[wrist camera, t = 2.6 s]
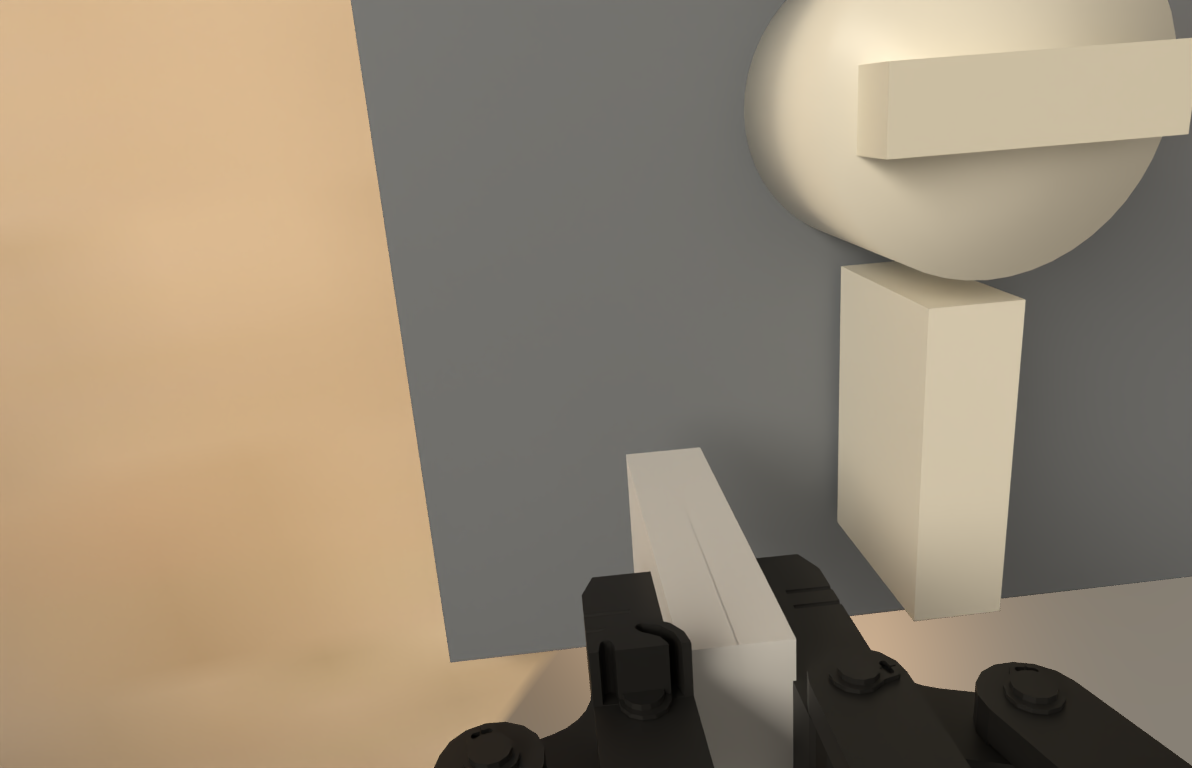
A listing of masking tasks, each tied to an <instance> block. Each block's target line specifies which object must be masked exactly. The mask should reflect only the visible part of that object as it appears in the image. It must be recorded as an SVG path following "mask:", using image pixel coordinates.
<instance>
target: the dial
mask: <svg viewBox="0 0 1192 768" xmlns="http://www.w3.org/2000/svg"><path fill="white" fill-rule="evenodd" d="M1191 112H1192V38H1183V39H1176V35H1175V29H1174V24H1173V18H1172V12H1171V9H1170V6H1169V3H1168V0H786V1H785V2H784V3H783V5H782V6H781V7H780V9H779V10H778V11H777V13H776V14H775V15H774V17H773V18H772V19H771V21H770V23H769V24H768V26H767V28H766V30H765V31H764V33H763V35H762V37H761V39H760V41H759V44H758V46H757V48H756V51H755V53H754V55H753V59H752V62H751V66H750V69H749V73H748V77H747V83H746V89H745V101H744V119H745V131H746V136H747V141H748V145H749V150H750V153H751V156H752V158H753V161H754V164H755V167H756V169H757V171H758V173H759V175H760V177H761V178H762V180H763V182H764V184H765V185H766V187H767V188H768V189H769V191H770V192H771V194H772V195H773V196H774V198H775V199H776V200H777V201H778V202H779V203H780V204H781V205H782V206H783V207H784V208H785V209H786V210H787V211H788V212H790V213H791V214H792V215H793V216H795V217H796V218H797V219H799V220H800V221H802V222H804V223H805V224H807V225H809V226H810V227H813V228H815V229H817V230H820V231H822V232H824V233H827V234H829V235H832V236H834V237H837V238H839V239H842V240H844V241H847V242H849V243H852V244H854V245H857V246H859V247H862V248H864V249H867V250H869V251H872V252H874V253H876V254H879V255H881V256H884V257H886V258H889V259H891V260H894V261H892V262H881V263H870V264H859V265H848V266H841V304H840V372H839V440H838V508H837V522H838V524H839V525H840V526H841V527H842V529H843V530H844V531H845V533H846V534H847V535H848V537H849V538H850V539H851V540H852V542H853V543H854V544H855V546H856V547H857V548H858V549H859V551H860V552H861V553H862V555H863V556H864V557H865V559H866V560H867V561H868V562H869V564H870V565H871V566H872V568H873V569H874V570H875V571H876V573H877V574H878V575H879V577H880V578H881V579H882V581H883V582H884V583H885V584H886V586H887V587H888V588H889V590H890V591H891V592H892V593H893V595H894V596H895V597H896V599H897V600H898V601H899V603H900V604H901V605H902V606H903V608H904V609H905V610H906V612H907V613H908V614H909V615H910V617H911V618H912V619H913V621H921V620H929V619H937V618H946V617H955V616H963V615H972V614H979V613H988V612H996V611H1000V602H1001V590H1002V578H1003V566H1004V554H1005V542H1006V530H1007V518H1008V506H1009V494H1010V482H1011V470H1012V458H1013V446H1014V434H1015V422H1016V410H1017V398H1018V386H1019V374H1020V362H1021V350H1022V338H1023V326H1024V314H1025V302H1026V300H1025V299H1023V298H1020V297H1017V296H1015V295H1012V294H1009V293H1007V292H1004V291H1001V290H999V289H996V288H993V287H991V286H988V285H985V284H983V283H980V282H977V281H975V280H991V279H997V278H1004V277H1010V276H1013V275H1017V274H1020V273H1024V272H1027V271H1030V270H1033V269H1035V268H1038V267H1040V266H1042V265H1045V264H1047V263H1049V262H1052V261H1054V260H1055V259H1057V258H1059V257H1061V256H1062V255H1064V254H1066V253H1068V252H1069V251H1071V250H1073V249H1074V248H1076V247H1077V246H1078V245H1080V244H1081V243H1082V242H1084V241H1085V240H1086V239H1088V238H1089V237H1091V236H1092V235H1093V234H1094V233H1095V232H1096V231H1097V230H1098V229H1100V228H1101V227H1102V226H1103V225H1104V224H1105V223H1106V222H1107V221H1108V220H1109V219H1110V218H1111V217H1112V216H1113V215H1114V214H1115V213H1116V212H1117V210H1118V209H1119V208H1120V207H1121V206H1122V205H1123V204H1124V202H1125V201H1126V200H1127V199H1128V197H1129V196H1130V194H1131V193H1132V192H1133V190H1134V189H1135V187H1136V186H1137V185H1138V183H1139V182H1140V180H1141V179H1142V177H1143V175H1144V173H1145V172H1146V170H1147V168H1148V166H1149V164H1150V163H1151V161H1152V159H1153V157H1154V155H1155V152H1156V150H1157V148H1158V145H1159V143H1160V141H1161V138H1162V136H1173V135H1185V134H1189V127H1190V119H1191Z"/></svg>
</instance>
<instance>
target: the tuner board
mask: <svg viewBox="0 0 1192 768" xmlns="http://www.w3.org/2000/svg"><path fill="white" fill-rule="evenodd" d="M785 1H786V0H351V5H352V11H353V18H354V25H355V31H356V38H357V45H358V51H359V58H360V64H361V71H362V78H363V84H364V91H365V98H366V104H367V111H368V118H369V124H370V131H371V138H372V144H373V151H374V158H375V164H376V171H377V177H378V184H379V191H380V197H381V204H382V211H383V217H384V224H385V231H386V237H387V244H388V251H389V257H390V264H391V271H392V277H393V284H394V290H395V297H396V304H397V310H398V317H399V324H400V330H401V337H402V344H403V350H404V357H405V364H406V370H407V377H408V384H409V390H410V397H411V404H412V410H413V417H414V423H415V430H416V437H417V443H418V450H419V457H420V463H421V470H422V477H423V483H424V490H425V497H426V503H427V510H428V517H429V523H430V530H431V536H432V543H433V550H434V556H435V563H436V570H437V576H438V583H439V590H440V596H441V603H442V610H443V616H444V623H445V630H446V636H447V643H448V649H449V656H450V662H459V661H467V660H476V659H485V658H493V657H502V656H510V655H519V654H528V653H536V652H545V651H553V650H562V649H571V648H579V647H586V638H585V627H584V616H583V605H582V594H583V592H584V590H585V589H586V587H587V585H588V584H589V582H590V580H591V579H592V577H601V576H611V575H620V574H630V573H634V562H633V548H632V534H631V519H630V505H629V490H628V476H627V461H626V454H636V453H647V452H657V451H667V450H677V449H688V448H698V447H700V448H701V450H702V452H703V454H704V456H705V458H706V460H707V462H708V464H709V466H710V468H711V470H712V472H713V474H714V476H715V478H716V480H717V482H718V484H719V486H720V488H721V490H722V492H723V494H724V496H725V498H726V500H727V502H728V504H729V506H730V508H731V510H732V512H733V514H734V516H735V518H736V520H737V522H738V524H739V526H740V528H741V530H742V532H743V534H744V536H745V538H746V540H747V542H748V544H749V546H750V548H751V550H752V552H753V554H754V556H755V558H763V557H772V556H782V555H792V554H798V555H800V556H802V557H803V558H805V559H806V560H808V561H809V562H811V563H812V564H814V565H815V566H817V567H818V568H819V569H820V570H821V572H822V573H823V575H824V576H825V578H826V580H827V581H828V583H829V584H830V588H831V589H833V591H834V592H835V594H836V596H837V597H838V599H839V601H840V604H842V605H843V607H844V608H845V610H846V611H847V613H848V615H849V616H854V615H863V614H872V613H880V612H888V611H897V610H905V609H904V608H903V606H902V605H901V604H900V603H899V601H898V600H897V599H896V597H895V596H894V595H893V593H892V592H891V591H890V590H889V588H888V587H887V586H886V584H885V583H884V582H883V581H882V579H881V578H880V577H879V575H878V574H877V573H876V571H875V570H874V569H873V568H872V566H871V565H870V564H869V562H868V561H867V560H866V559H865V557H864V556H863V555H862V553H861V552H860V551H859V549H858V548H857V547H856V546H855V544H854V543H853V542H852V540H851V539H850V538H849V537H848V535H847V534H846V533H845V531H844V530H843V529H842V527H841V526H840V525H839V524H838V522H837V508H838V440H839V372H840V304H841V266H848V265H859V264H870V263H881V262H892V261H894V260H891V259H889V258H886V257H884V256H881V255H879V254H876V253H874V252H872V251H869V250H867V249H864V248H862V247H859V246H857V245H854V244H852V243H849V242H847V241H844V240H842V239H839V238H837V237H834V236H832V235H829V234H827V233H824V232H822V231H820V230H817V229H815V228H813V227H810V226H809V225H807V224H805V223H804V222H802V221H800V220H799V219H797V218H796V217H795V216H793V215H792V214H791V213H790V212H788V211H787V210H786V209H785V208H784V207H783V206H782V205H781V204H780V203H779V202H778V201H777V200H776V199H775V198H774V196H773V195H772V194H771V192H770V191H769V189H768V188H767V187H766V185H765V184H764V182H763V180H762V178H761V177H760V175H759V173H758V171H757V169H756V167H755V164H754V161H753V158H752V156H751V153H750V150H749V145H748V141H747V136H746V131H745V119H744V101H745V89H746V83H747V77H748V73H749V69H750V66H751V62H752V59H753V55H754V53H755V51H756V48H757V46H758V44H759V41H760V39H761V37H762V35H763V33H764V31H765V30H766V28H767V26H768V24H769V23H770V21H771V19H772V18H773V17H774V15H775V14H776V13H777V11H778V10H779V9H780V7H781V6H782V5H783V3H784V2H785ZM1168 3H1169V6H1170V9H1171V12H1172V18H1173V24H1174V29H1175V35H1176V39H1183V38H1192V0H1168ZM975 281H977V282H980V283H983V284H985V285H988V286H991V287H993V288H996V289H999V290H1001V291H1004V292H1007V293H1009V294H1012V295H1015V296H1017V297H1020V298H1023V299H1025V300H1026V302H1025V314H1024V326H1023V338H1022V350H1021V362H1020V374H1019V386H1018V398H1017V410H1016V422H1015V434H1014V446H1013V458H1012V470H1011V482H1010V494H1009V506H1008V518H1007V530H1006V542H1005V554H1004V566H1003V578H1002V590H1001V598H1009V597H1018V596H1027V595H1034V594H1044V593H1052V592H1061V591H1070V590H1078V589H1087V588H1095V587H1104V586H1113V585H1120V584H1129V583H1138V582H1147V581H1156V580H1163V579H1173V578H1181V577H1190V576H1192V112H1191V119H1190V127H1189V134H1185V135H1173V136H1162V138H1161V141H1160V143H1159V145H1158V148H1157V150H1156V152H1155V155H1154V157H1153V159H1152V161H1151V163H1150V164H1149V166H1148V168H1147V170H1146V172H1145V173H1144V175H1143V177H1142V179H1141V180H1140V182H1139V183H1138V185H1137V186H1136V187H1135V189H1134V190H1133V192H1132V193H1131V194H1130V196H1129V197H1128V199H1127V200H1126V201H1125V202H1124V204H1123V205H1122V206H1121V207H1120V208H1119V209H1118V210H1117V212H1116V213H1115V214H1114V215H1113V216H1112V217H1111V218H1110V219H1109V220H1108V221H1107V222H1106V223H1105V224H1104V225H1103V226H1102V227H1101V228H1100V229H1098V230H1097V231H1096V232H1095V233H1094V234H1093V235H1092V236H1091V237H1089V238H1088V239H1086V240H1085V241H1084V242H1082V243H1081V244H1080V245H1078V246H1077V247H1076V248H1074V249H1073V250H1071V251H1069V252H1068V253H1066V254H1064V255H1062V256H1061V257H1059V258H1057V259H1055V260H1054V261H1052V262H1049V263H1047V264H1045V265H1042V266H1040V267H1038V268H1035V269H1033V270H1030V271H1027V272H1024V273H1020V274H1017V275H1013V276H1010V277H1004V278H997V279H991V280H975Z"/></svg>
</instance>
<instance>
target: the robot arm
mask: <svg viewBox="0 0 1192 768" xmlns="http://www.w3.org/2000/svg"><path fill="white" fill-rule="evenodd" d="M626 461H627V476H628V490H629V505H630V519H631V534H632V548H633V562H634V573H630V574H620V575H611V576H601V577H592V579H591V580H590V582H589V584H588V585H587V587H586V589H585V590H584V592H583V594H582V605H583V616H584V627H585V638H586V648H587V659H588V670H589V680H590V690H591V701H590V703H589V705H588V707H587V710H586V711H585V712H584V713H583V715H582V716H581V717H580V718H579V719H578V720H577V721H576V722H574V723H573V724H571V725H570V726H569V727H568V728H566V729H564V730H561V731H559V732H557V733H555V734H553V735H550V736H547V737H545V738H542V739H539V737H538V735H537V734H536V733H534V732H532V731H531V730H529V729H528V728H526V727H525V726H522V725H518V724H513V723H508V722H499V723H487V724H483V725H480V726H477V727H474V728H472V729H469V730H466V731H465V732H463V733H462V734H460V735H459V736H457V737H456V738H455V739H453V740H452V741H450V742H449V744H448V745H447V747H446V748H445V749H444V751H443V752H442V753H441V755H440V756H439V758H438V760H437V763H436V765H435V767H434V768H1192V766H1191V765H1190V764H1189V763H1187V762H1186V761H1184V760H1183V759H1182V758H1180V757H1179V756H1177V755H1176V754H1175V753H1173V752H1172V751H1171V750H1169V749H1168V748H1166V747H1165V746H1164V745H1162V744H1161V743H1160V742H1158V741H1157V740H1155V739H1154V738H1153V737H1151V736H1150V735H1149V734H1147V733H1146V732H1144V731H1143V730H1142V729H1140V728H1139V727H1137V726H1136V725H1135V724H1133V723H1132V722H1131V721H1129V720H1128V719H1126V718H1125V717H1124V716H1122V715H1121V714H1119V713H1118V712H1117V711H1115V710H1114V709H1112V708H1111V707H1110V706H1108V705H1107V704H1106V703H1104V702H1103V701H1102V700H1100V699H1099V698H1097V697H1096V696H1095V695H1093V694H1092V693H1091V692H1089V691H1088V690H1086V689H1085V688H1083V687H1082V686H1081V685H1080V684H1078V683H1076V682H1075V681H1074V680H1072V679H1070V678H1068V677H1066V676H1065V675H1063V674H1061V673H1059V672H1057V671H1055V670H1052V669H1048V668H1045V667H1042V666H1038V665H1035V664H1027V663H1016V662H1010V663H1003V664H996V665H993V666H991V667H989V668H988V669H986V670H984V671H982V672H981V674H980V676H979V677H978V679H977V681H976V686H975V692H967V691H957V690H948V689H939V688H933V687H928V686H922V685H919V684H916V683H914V681H913V680H912V678H911V677H910V675H909V674H908V673H907V671H906V670H905V669H904V668H903V667H902V666H901V665H900V664H899V663H898V662H897V661H896V660H893V659H891V658H890V657H888V656H886V655H884V654H882V653H880V652H877V651H872V650H870V648H869V646H868V645H867V643H866V642H865V640H864V639H863V637H862V635H861V634H860V632H859V630H858V629H857V627H856V626H855V624H854V623H853V621H852V620H851V618H850V616H849V615H848V613H847V611H846V610H845V608H844V607H843V605H842V604H840V601H839V599H838V597H837V596H836V594H835V592H834V591H833V589H831V588H830V584H829V583H828V581H827V580H826V578H825V576H824V575H823V573H822V572H821V570H820V569H819V568H818V567H817V566H815V565H814V564H812V563H811V562H809V561H808V560H806V559H805V558H803V557H802V556H800V555H798V554H792V555H782V556H772V557H763V558H755V556H754V554H753V552H752V550H751V548H750V546H749V544H748V542H747V540H746V538H745V536H744V534H743V532H742V530H741V528H740V526H739V524H738V522H737V520H736V518H735V516H734V514H733V512H732V510H731V508H730V506H729V504H728V502H727V500H726V498H725V496H724V494H723V492H722V490H721V488H720V486H719V484H718V482H717V480H716V478H715V476H714V474H713V472H712V470H711V468H710V466H709V464H708V462H707V460H706V458H705V456H704V454H703V452H702V450H701V448H700V447H698V448H688V449H677V450H667V451H657V452H647V453H636V454H626Z"/></svg>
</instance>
